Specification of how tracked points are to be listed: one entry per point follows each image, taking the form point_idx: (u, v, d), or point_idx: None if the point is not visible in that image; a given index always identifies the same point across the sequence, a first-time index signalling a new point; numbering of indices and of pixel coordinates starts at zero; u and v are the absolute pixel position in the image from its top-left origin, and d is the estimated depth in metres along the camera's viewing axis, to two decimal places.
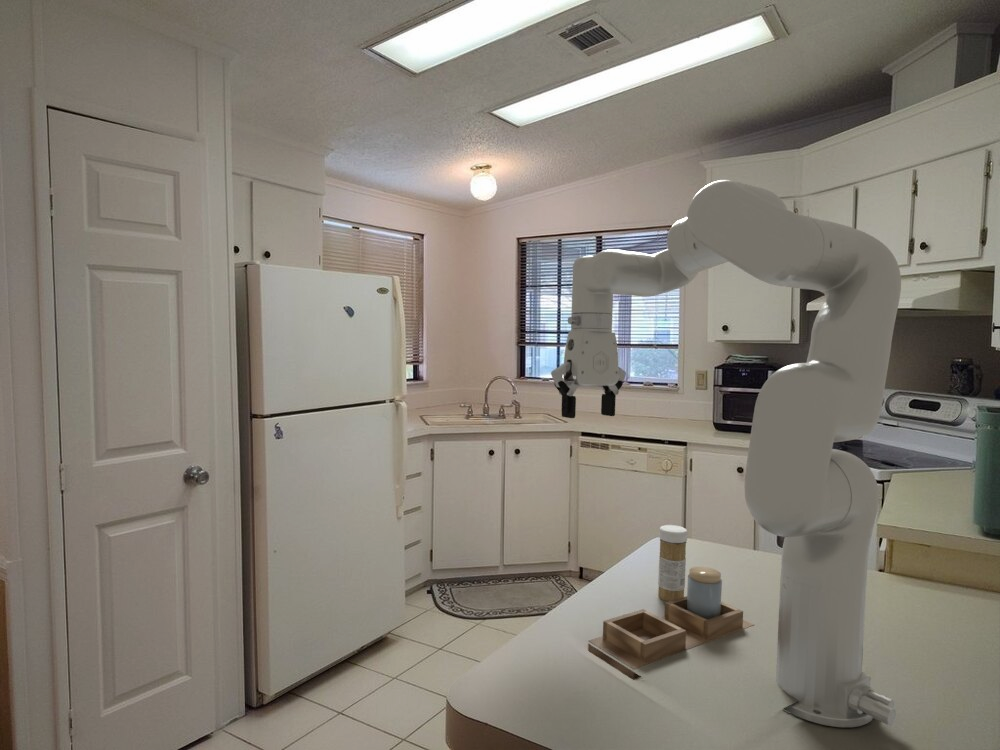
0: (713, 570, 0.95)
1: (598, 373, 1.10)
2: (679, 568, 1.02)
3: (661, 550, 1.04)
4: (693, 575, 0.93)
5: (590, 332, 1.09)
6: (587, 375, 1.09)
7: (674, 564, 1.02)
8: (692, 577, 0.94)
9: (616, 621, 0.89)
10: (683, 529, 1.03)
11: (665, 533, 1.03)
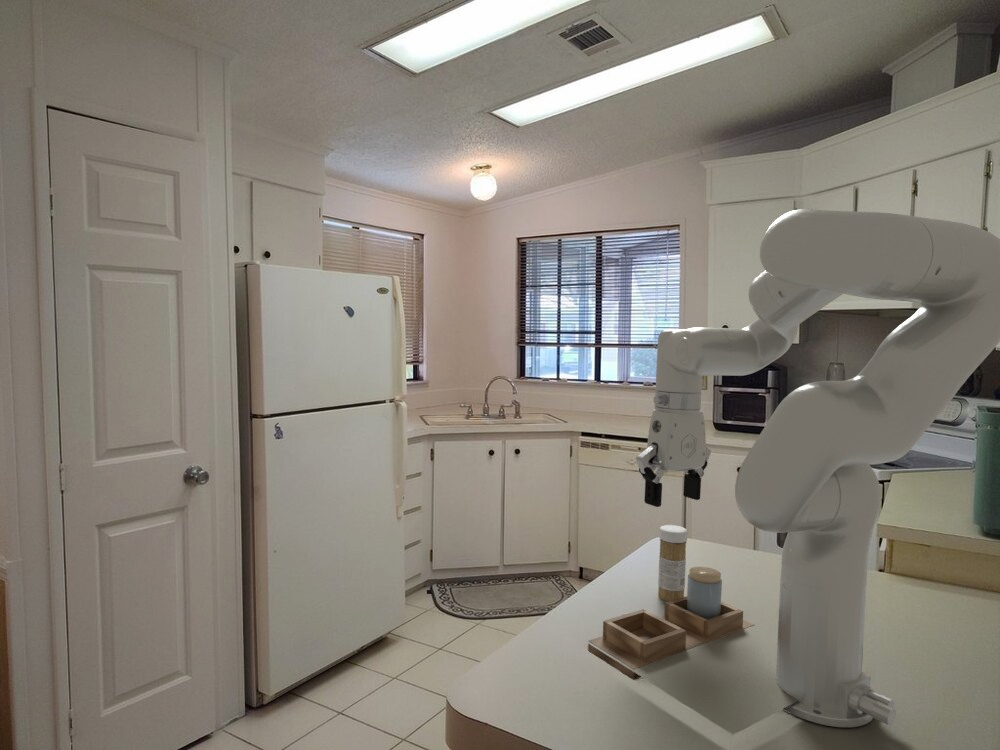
0: (713, 570, 0.95)
1: (685, 457, 1.01)
2: (679, 568, 1.02)
3: (661, 550, 1.04)
4: (693, 575, 0.93)
5: (679, 413, 1.00)
6: (675, 461, 1.00)
7: (674, 564, 1.02)
8: (692, 577, 0.94)
9: (616, 621, 0.89)
10: (683, 529, 1.03)
11: (665, 533, 1.03)
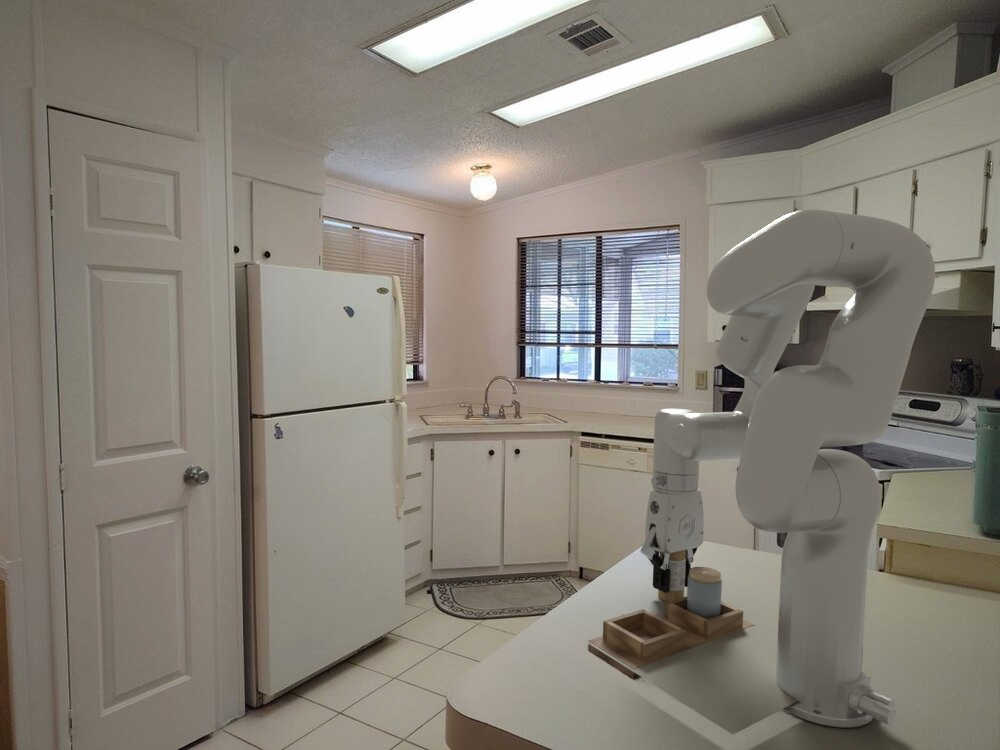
0: (713, 570, 0.95)
1: (684, 538, 1.01)
2: (679, 568, 1.02)
3: None
4: (693, 575, 0.93)
5: (676, 495, 1.00)
6: (673, 542, 1.00)
7: (673, 564, 1.02)
8: (692, 577, 0.94)
9: (616, 621, 0.89)
10: None
11: None
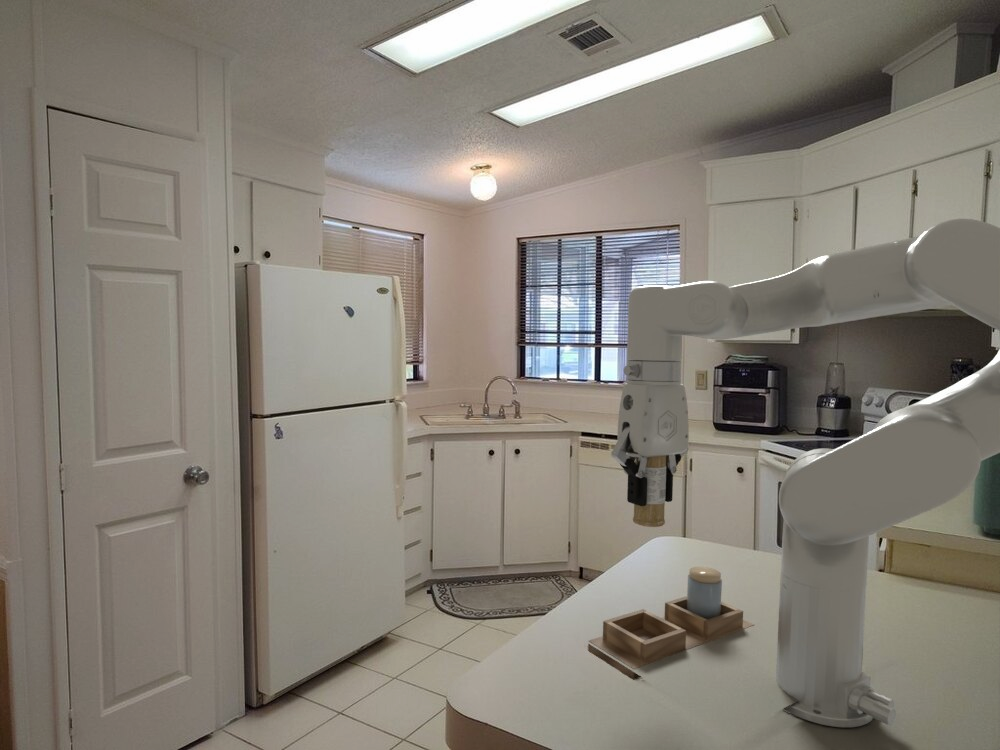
0: (713, 570, 0.95)
1: (664, 440, 0.84)
2: (657, 476, 0.85)
3: None
4: (693, 575, 0.93)
5: (654, 386, 0.83)
6: (651, 443, 0.83)
7: (651, 471, 0.85)
8: (692, 577, 0.94)
9: (616, 621, 0.89)
10: None
11: None
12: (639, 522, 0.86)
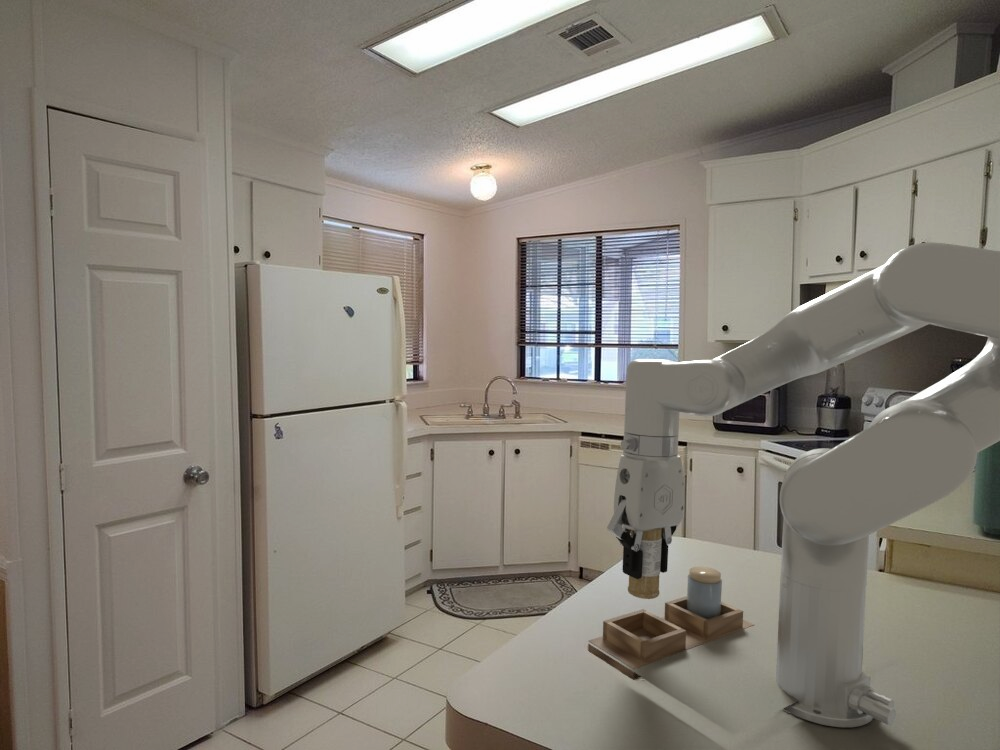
0: (713, 570, 0.95)
1: (660, 514, 0.84)
2: (653, 549, 0.85)
3: None
4: (693, 575, 0.93)
5: (651, 461, 0.83)
6: (647, 518, 0.83)
7: (647, 544, 0.85)
8: (692, 577, 0.94)
9: (616, 621, 0.89)
10: None
11: None
12: (634, 593, 0.86)
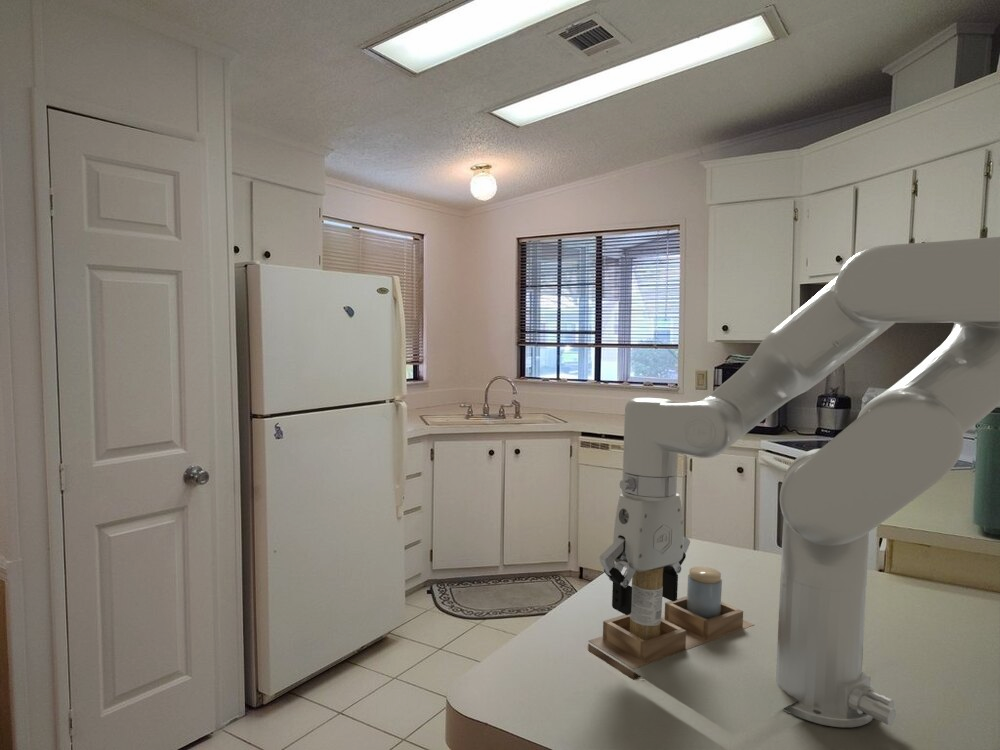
0: (713, 570, 0.95)
1: (659, 553, 0.84)
2: (654, 598, 0.85)
3: (633, 576, 0.87)
4: (693, 575, 0.93)
5: (650, 502, 0.83)
6: (646, 558, 0.83)
7: (648, 593, 0.85)
8: (692, 577, 0.94)
9: (616, 621, 0.89)
10: None
11: None
12: None
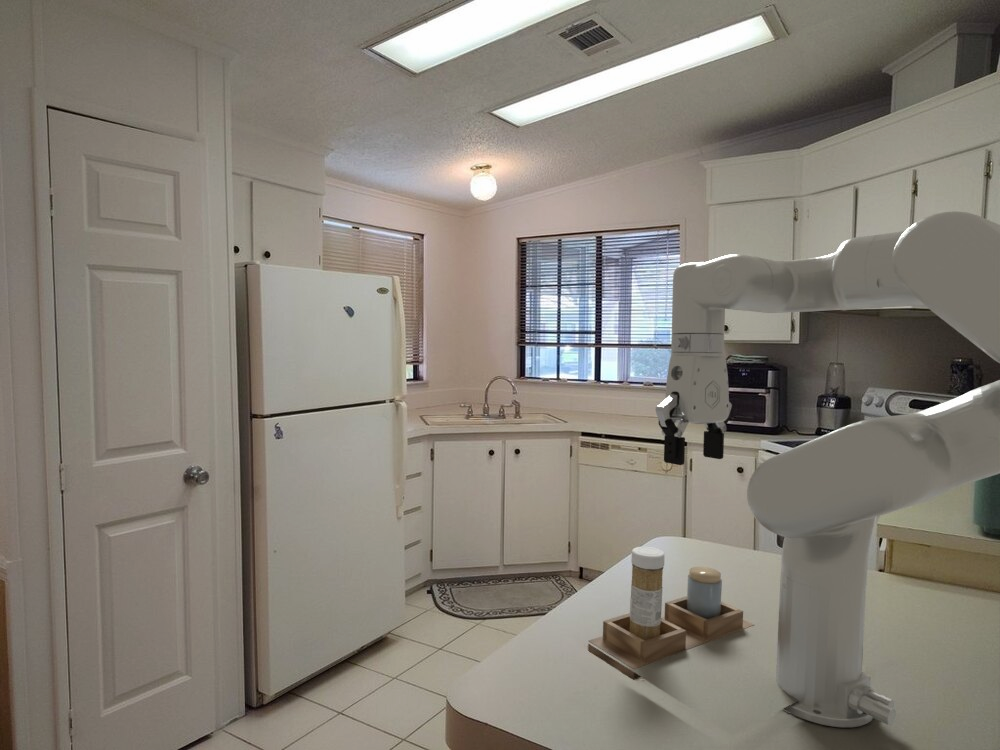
0: (713, 570, 0.95)
1: (710, 408, 0.89)
2: (654, 599, 0.85)
3: (633, 577, 0.87)
4: (693, 575, 0.93)
5: (702, 357, 0.88)
6: (699, 411, 0.87)
7: (648, 594, 0.85)
8: (692, 577, 0.94)
9: (616, 621, 0.89)
10: (660, 552, 0.86)
11: (638, 557, 0.86)
12: None
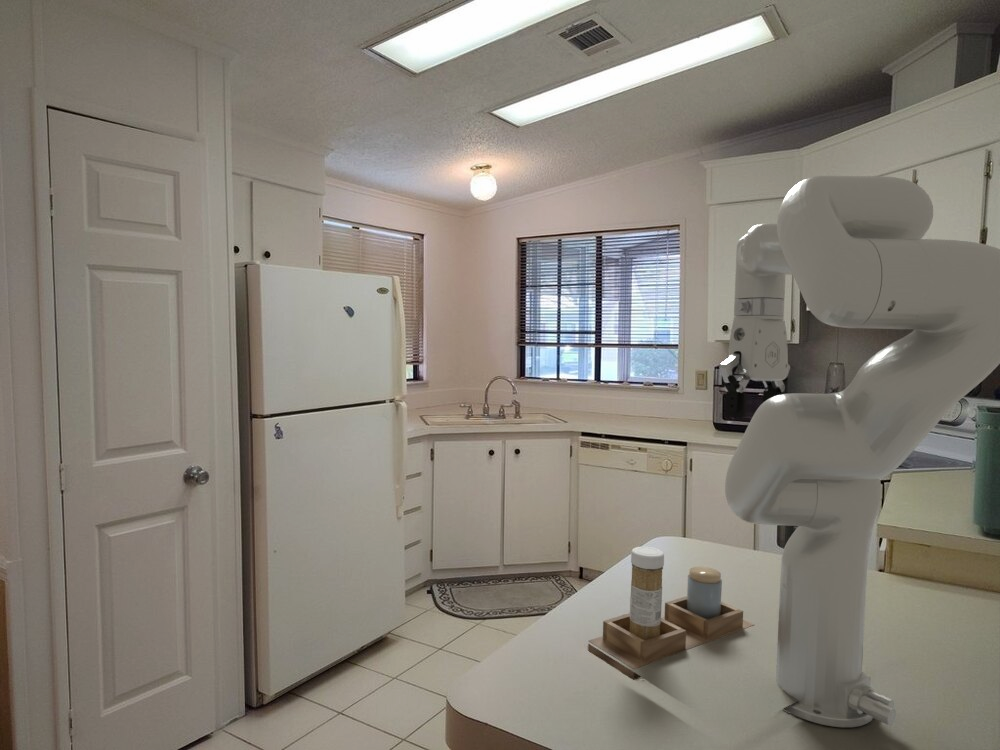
0: (713, 570, 0.95)
1: (769, 367, 0.97)
2: (654, 599, 0.85)
3: (633, 577, 0.87)
4: (693, 575, 0.93)
5: (763, 320, 0.96)
6: (760, 369, 0.96)
7: (647, 594, 0.85)
8: (692, 577, 0.94)
9: (616, 621, 0.89)
10: (659, 552, 0.86)
11: (637, 557, 0.86)
12: None
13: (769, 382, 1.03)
